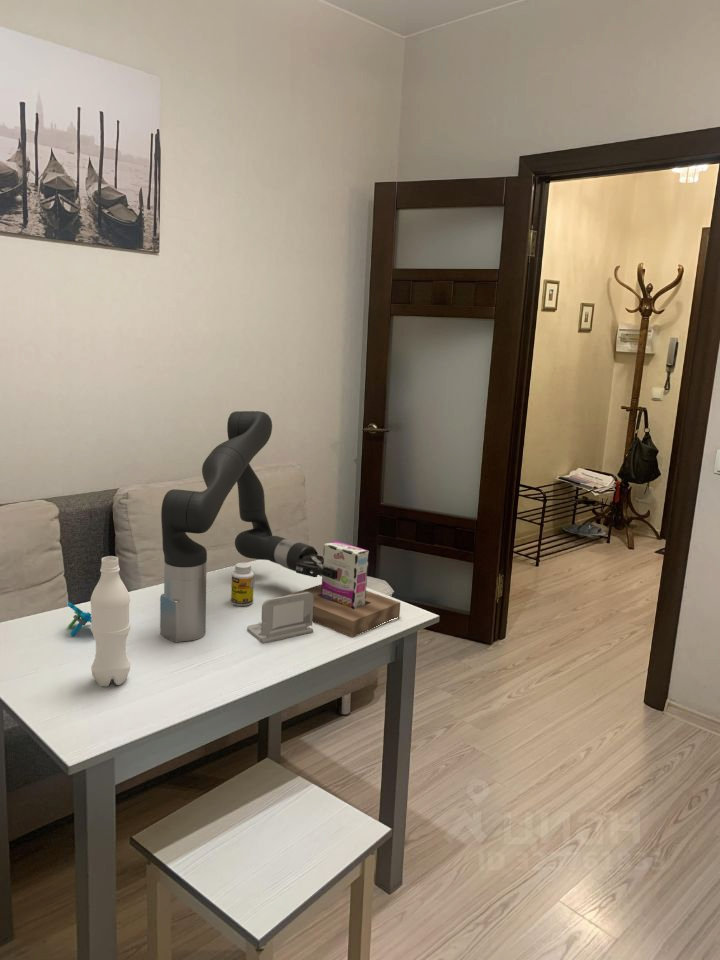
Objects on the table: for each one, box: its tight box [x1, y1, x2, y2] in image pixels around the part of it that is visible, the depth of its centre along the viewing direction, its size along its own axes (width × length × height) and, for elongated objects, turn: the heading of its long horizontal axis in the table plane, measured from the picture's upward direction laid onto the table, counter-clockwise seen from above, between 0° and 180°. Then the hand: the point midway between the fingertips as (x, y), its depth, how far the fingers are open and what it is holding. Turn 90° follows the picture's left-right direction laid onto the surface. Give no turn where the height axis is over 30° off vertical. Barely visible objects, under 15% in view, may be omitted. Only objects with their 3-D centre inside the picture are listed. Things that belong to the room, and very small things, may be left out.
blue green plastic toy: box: [67, 601, 91, 637], centre depth 164 cm, size 11×6×10 cm
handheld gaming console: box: [246, 592, 314, 644], centre depth 171 cm, size 13×9×10 cm
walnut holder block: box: [286, 583, 401, 638], centre depth 184 cm, size 18×22×4 cm
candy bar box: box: [321, 540, 370, 609], centre depth 183 cm, size 11×5×16 cm, turn 49°
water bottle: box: [89, 555, 131, 688], centre depth 142 cm, size 7×7×25 cm
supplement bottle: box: [230, 562, 255, 607], centre depth 187 cm, size 6×6×10 cm
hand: (343, 572), depth 183 cm, fingers closed on candy bar box, 5 cm apart
